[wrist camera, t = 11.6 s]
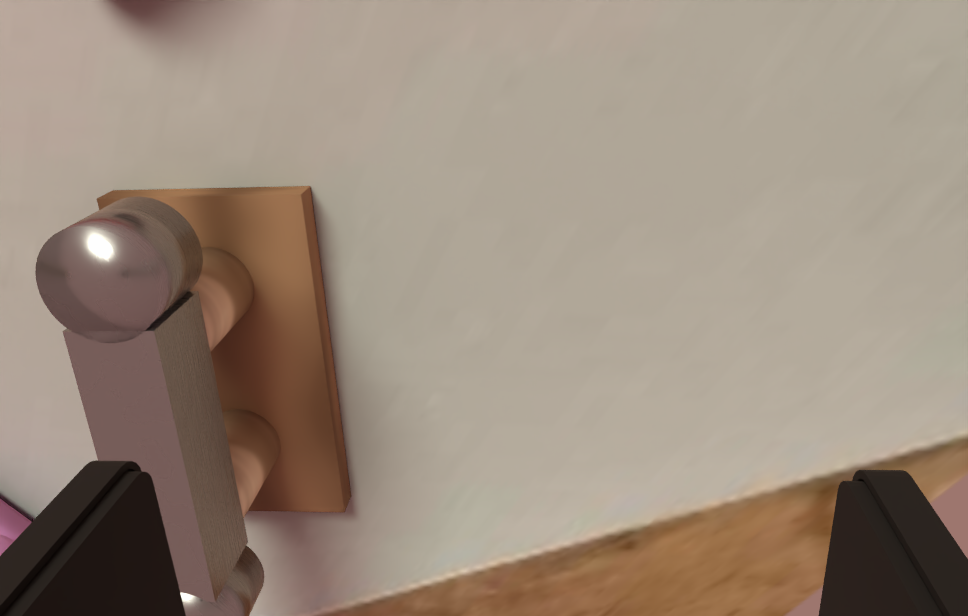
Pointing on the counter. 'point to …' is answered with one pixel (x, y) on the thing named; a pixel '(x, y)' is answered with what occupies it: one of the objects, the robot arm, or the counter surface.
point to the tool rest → (267, 342)
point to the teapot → (10, 525)
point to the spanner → (154, 385)
